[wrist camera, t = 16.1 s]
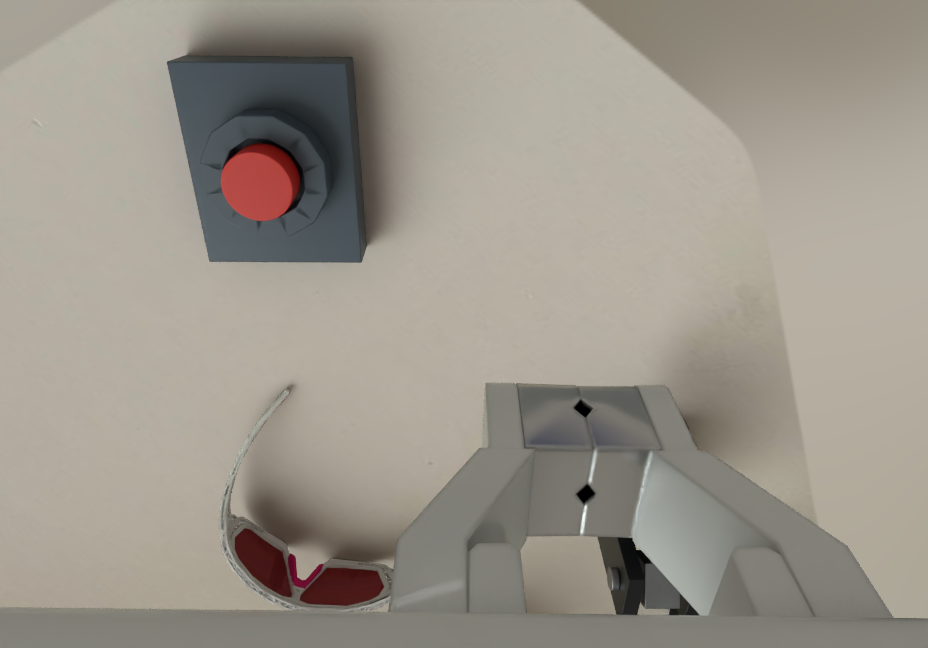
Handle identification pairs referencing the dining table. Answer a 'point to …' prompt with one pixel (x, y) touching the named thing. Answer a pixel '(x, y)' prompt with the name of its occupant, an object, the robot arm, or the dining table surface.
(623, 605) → the switch bracket
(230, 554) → the sunglasses
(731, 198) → the dining table surface
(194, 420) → the dining table surface
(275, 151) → the button
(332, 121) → the grey base plate
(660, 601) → the lever
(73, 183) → the dining table surface
